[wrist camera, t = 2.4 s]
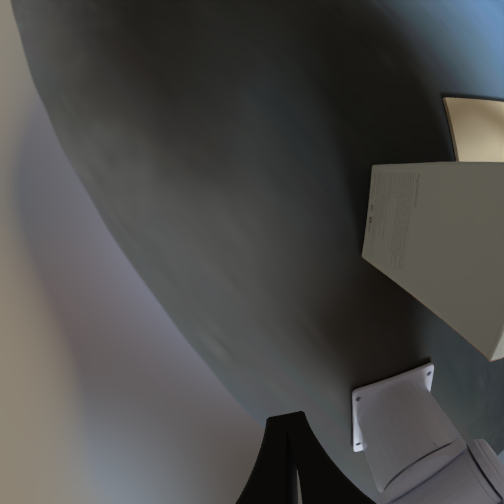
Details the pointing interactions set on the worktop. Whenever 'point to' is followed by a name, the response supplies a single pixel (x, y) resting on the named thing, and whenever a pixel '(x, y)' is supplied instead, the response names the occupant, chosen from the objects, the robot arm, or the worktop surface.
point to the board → (476, 129)
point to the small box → (444, 242)
